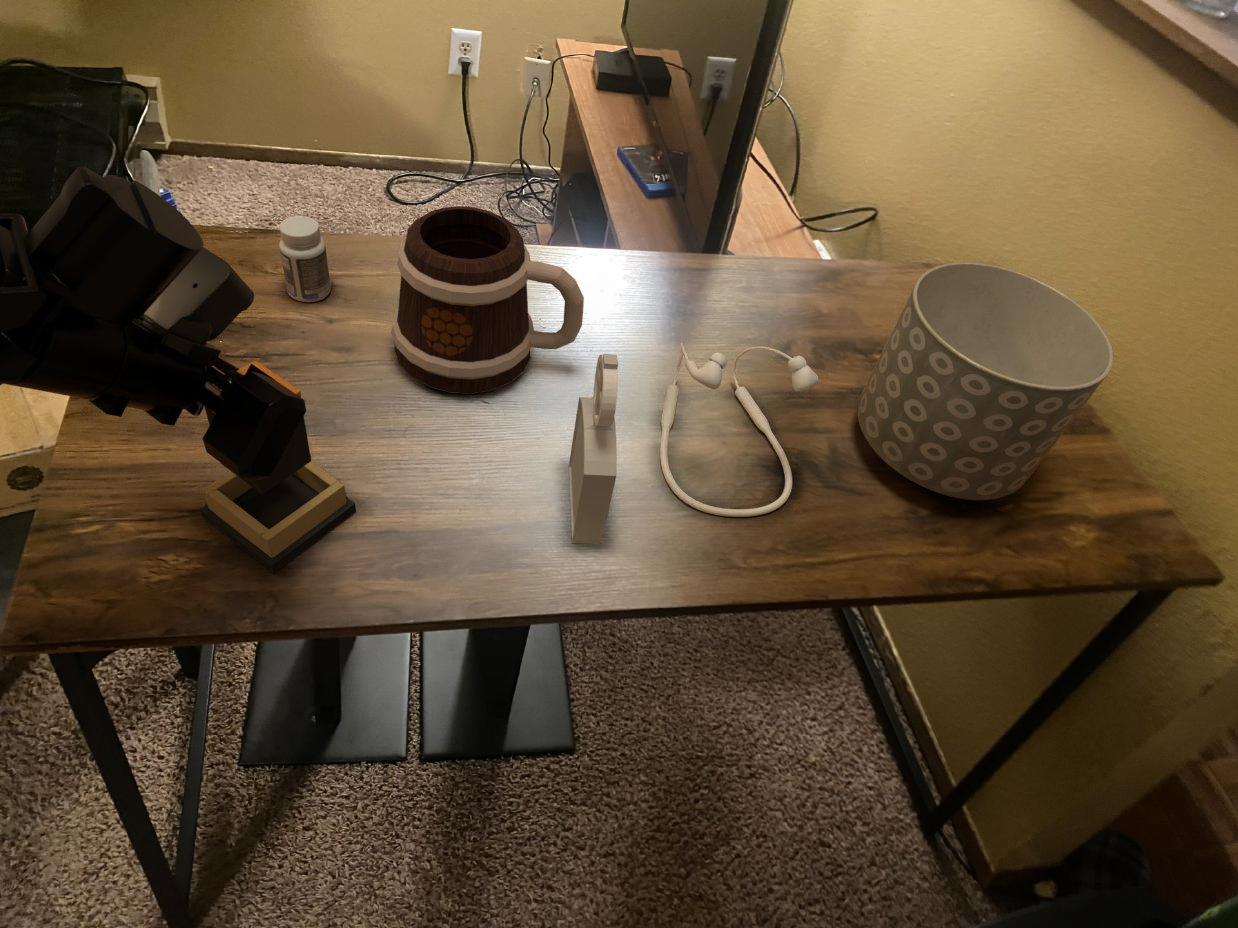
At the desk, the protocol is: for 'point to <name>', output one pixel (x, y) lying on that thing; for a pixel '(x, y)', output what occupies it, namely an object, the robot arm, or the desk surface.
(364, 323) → the desk surface
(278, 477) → the orange rectangular block
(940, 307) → the planter
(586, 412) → the gravestone
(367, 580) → the desk surface
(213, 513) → the base pad
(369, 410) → the desk surface
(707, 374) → the earphone
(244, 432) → the robot arm
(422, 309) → the mug
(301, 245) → the pill bottle
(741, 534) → the desk surface
